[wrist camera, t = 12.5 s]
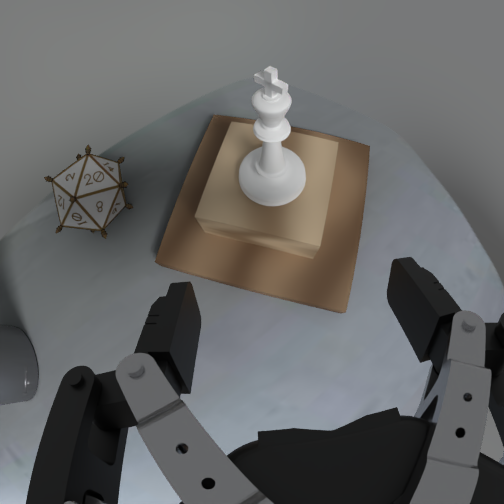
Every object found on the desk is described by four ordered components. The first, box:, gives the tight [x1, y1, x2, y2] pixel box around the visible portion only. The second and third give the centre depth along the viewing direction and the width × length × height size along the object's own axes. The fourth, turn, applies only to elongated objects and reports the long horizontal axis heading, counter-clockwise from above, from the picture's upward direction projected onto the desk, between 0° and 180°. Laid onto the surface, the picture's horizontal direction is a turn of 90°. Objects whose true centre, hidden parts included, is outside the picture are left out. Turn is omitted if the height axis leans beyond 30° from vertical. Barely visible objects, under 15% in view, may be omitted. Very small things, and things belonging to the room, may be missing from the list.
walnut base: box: [155, 115, 370, 313], centre depth 23 cm, size 16×16×5 cm
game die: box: [44, 145, 133, 239], centre depth 23 cm, size 9×8×10 cm
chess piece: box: [239, 66, 306, 206], centre depth 16 cm, size 5×5×10 cm
